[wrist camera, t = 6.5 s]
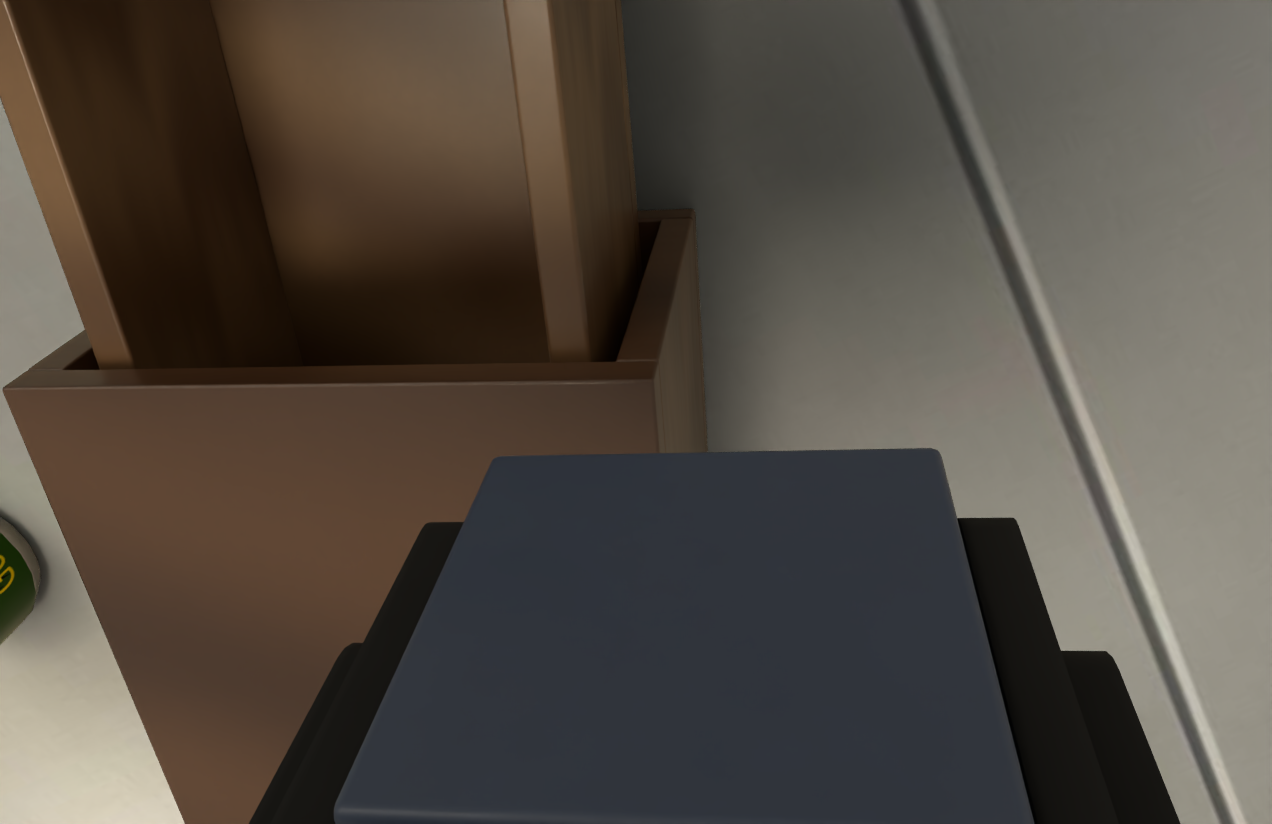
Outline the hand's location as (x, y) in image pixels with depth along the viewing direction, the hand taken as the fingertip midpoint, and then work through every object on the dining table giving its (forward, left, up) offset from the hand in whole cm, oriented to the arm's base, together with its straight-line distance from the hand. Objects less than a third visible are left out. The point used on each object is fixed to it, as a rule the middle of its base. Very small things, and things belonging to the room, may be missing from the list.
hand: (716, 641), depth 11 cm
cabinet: (+12, 0, -17) cm, 21 cm away
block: (0, 0, 0) cm, 0 cm away
